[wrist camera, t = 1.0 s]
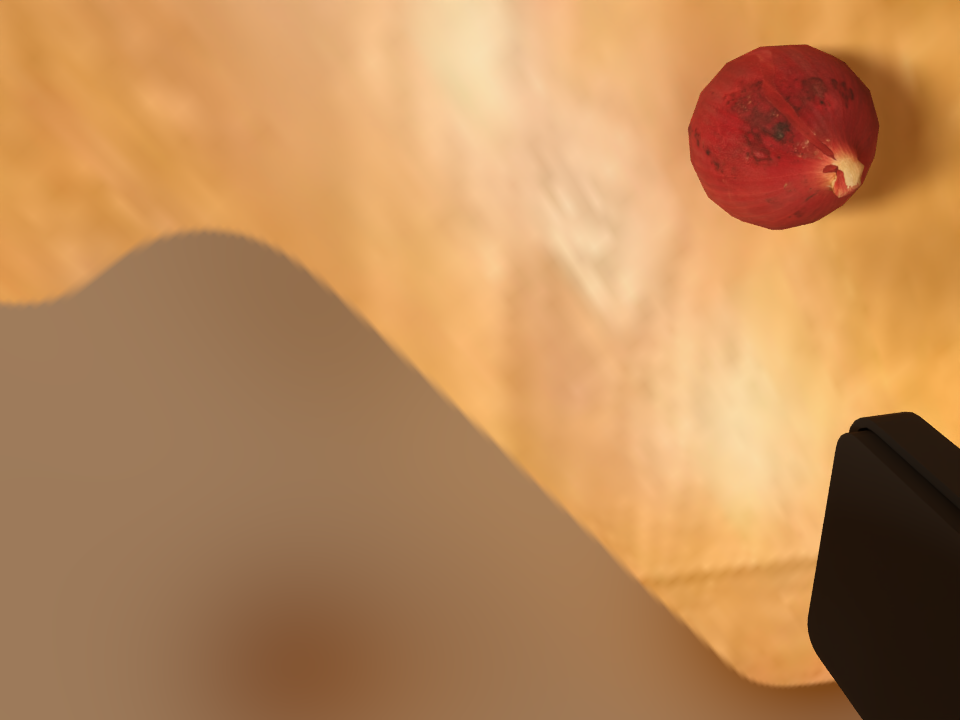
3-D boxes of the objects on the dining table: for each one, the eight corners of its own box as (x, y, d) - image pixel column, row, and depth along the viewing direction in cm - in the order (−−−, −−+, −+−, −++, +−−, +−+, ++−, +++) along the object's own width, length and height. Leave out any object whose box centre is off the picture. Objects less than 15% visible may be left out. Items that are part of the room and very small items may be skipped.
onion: (624, 130, 33) (715, 194, 26) (734, -6, 31) (862, 23, 24) (730, 220, 35) (839, 301, 28) (837, 98, 34) (980, 152, 27)
